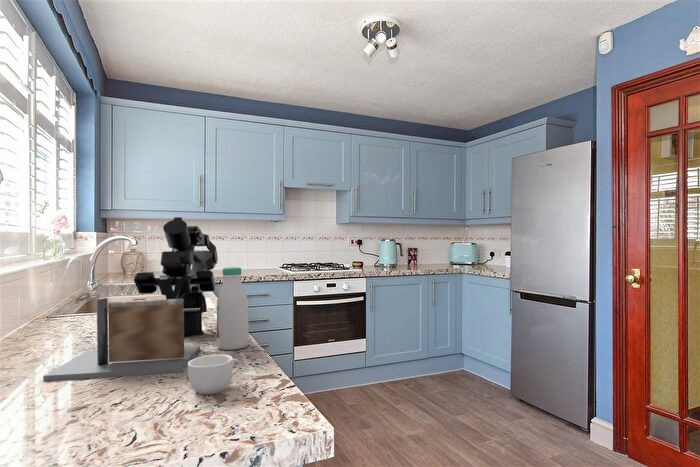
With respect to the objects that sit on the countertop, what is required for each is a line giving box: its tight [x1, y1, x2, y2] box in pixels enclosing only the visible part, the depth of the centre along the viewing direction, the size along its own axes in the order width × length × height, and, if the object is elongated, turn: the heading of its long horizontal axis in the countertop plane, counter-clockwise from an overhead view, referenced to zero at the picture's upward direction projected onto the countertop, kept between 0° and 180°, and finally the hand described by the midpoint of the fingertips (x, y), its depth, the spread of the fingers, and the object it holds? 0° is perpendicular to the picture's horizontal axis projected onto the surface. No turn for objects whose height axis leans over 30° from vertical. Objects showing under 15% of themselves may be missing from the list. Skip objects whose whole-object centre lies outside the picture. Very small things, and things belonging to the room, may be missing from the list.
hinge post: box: [96, 297, 109, 365], centre depth 89 cm, size 2×2×14 cm
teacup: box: [187, 353, 241, 396], centre depth 76 cm, size 10×8×5 cm
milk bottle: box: [216, 266, 250, 351], centre depth 106 cm, size 8×8×20 cm
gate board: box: [42, 344, 201, 382], centre depth 93 cm, size 26×18×1 cm
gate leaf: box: [108, 298, 185, 362], centre depth 91 cm, size 15×2×13 cm, turn 98°
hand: (169, 308), depth 101 cm, fingers closed
